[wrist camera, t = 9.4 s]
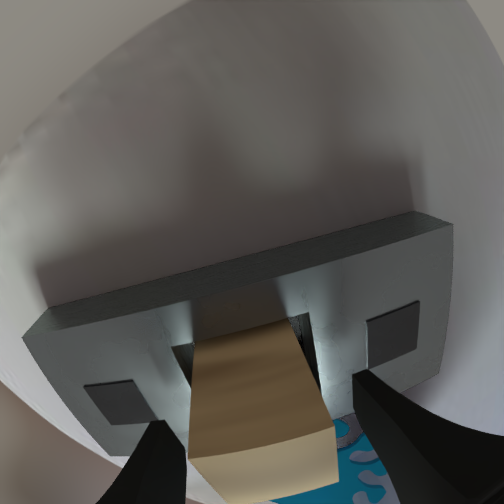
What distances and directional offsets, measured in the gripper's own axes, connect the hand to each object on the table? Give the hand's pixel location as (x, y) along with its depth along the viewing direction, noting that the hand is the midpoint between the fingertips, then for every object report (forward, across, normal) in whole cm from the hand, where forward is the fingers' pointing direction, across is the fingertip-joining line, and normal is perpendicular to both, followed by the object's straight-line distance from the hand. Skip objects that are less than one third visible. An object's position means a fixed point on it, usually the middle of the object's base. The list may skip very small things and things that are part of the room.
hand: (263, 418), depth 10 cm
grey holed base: (+5, 0, 0) cm, 5 cm away
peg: (+5, 0, 0) cm, 5 cm away
